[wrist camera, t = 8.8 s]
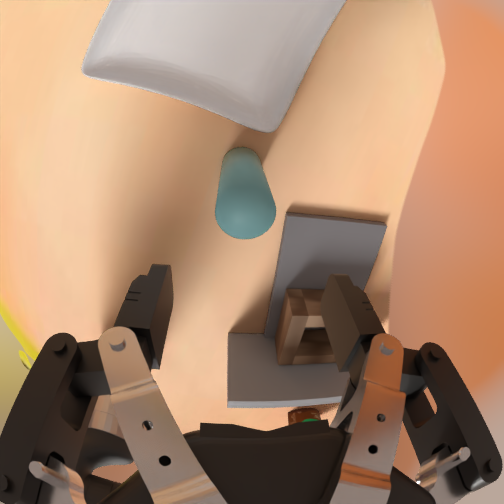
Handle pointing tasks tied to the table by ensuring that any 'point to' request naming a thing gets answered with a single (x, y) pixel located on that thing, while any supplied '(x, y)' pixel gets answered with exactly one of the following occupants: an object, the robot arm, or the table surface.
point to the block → (302, 330)
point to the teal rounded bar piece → (244, 196)
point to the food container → (303, 415)
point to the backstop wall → (276, 377)
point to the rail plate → (321, 256)
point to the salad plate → (213, 52)
